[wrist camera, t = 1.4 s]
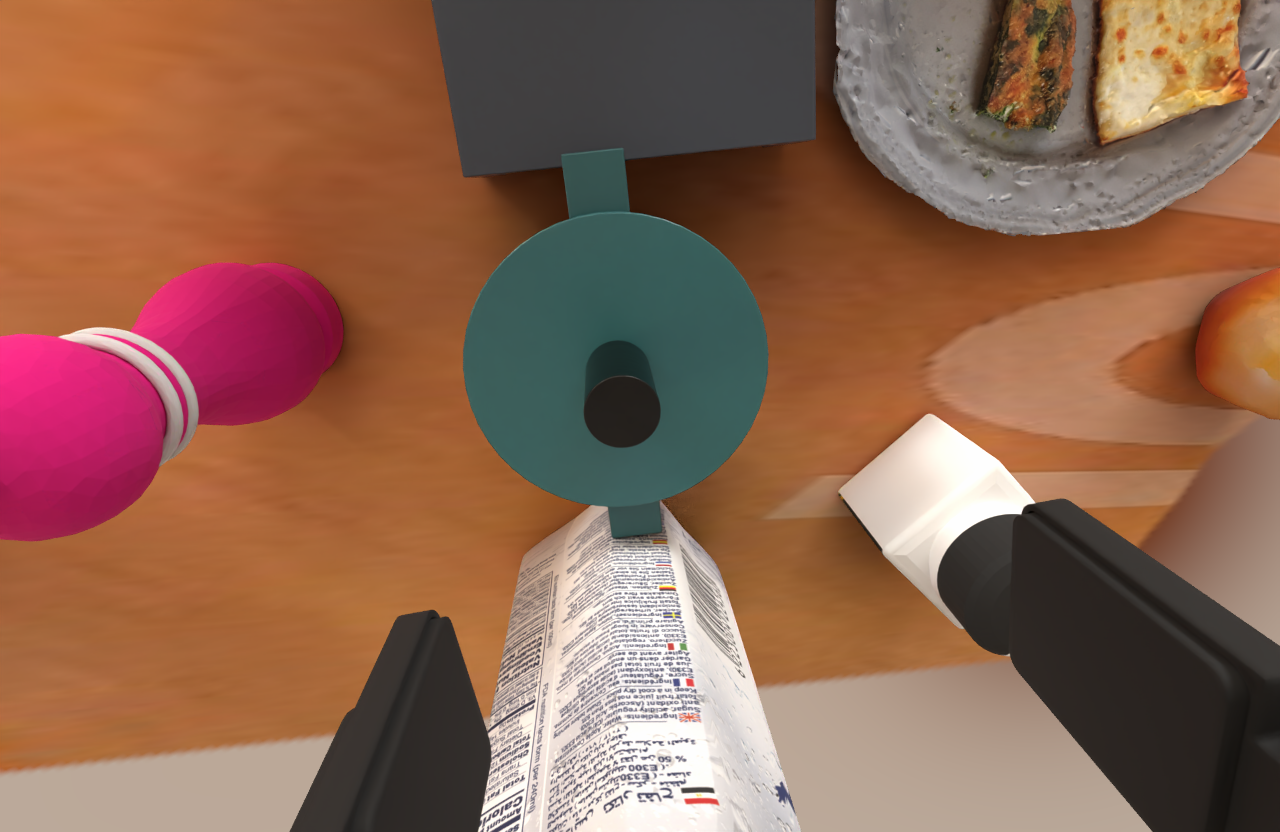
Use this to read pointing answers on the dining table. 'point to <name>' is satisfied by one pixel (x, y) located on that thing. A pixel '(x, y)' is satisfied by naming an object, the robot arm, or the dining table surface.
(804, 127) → the grey stepped block
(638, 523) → the pot
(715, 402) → the lid
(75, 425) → the pepper mill
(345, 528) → the dining table surface
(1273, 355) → the fruit
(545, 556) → the juice carton
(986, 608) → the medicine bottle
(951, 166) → the food plate
